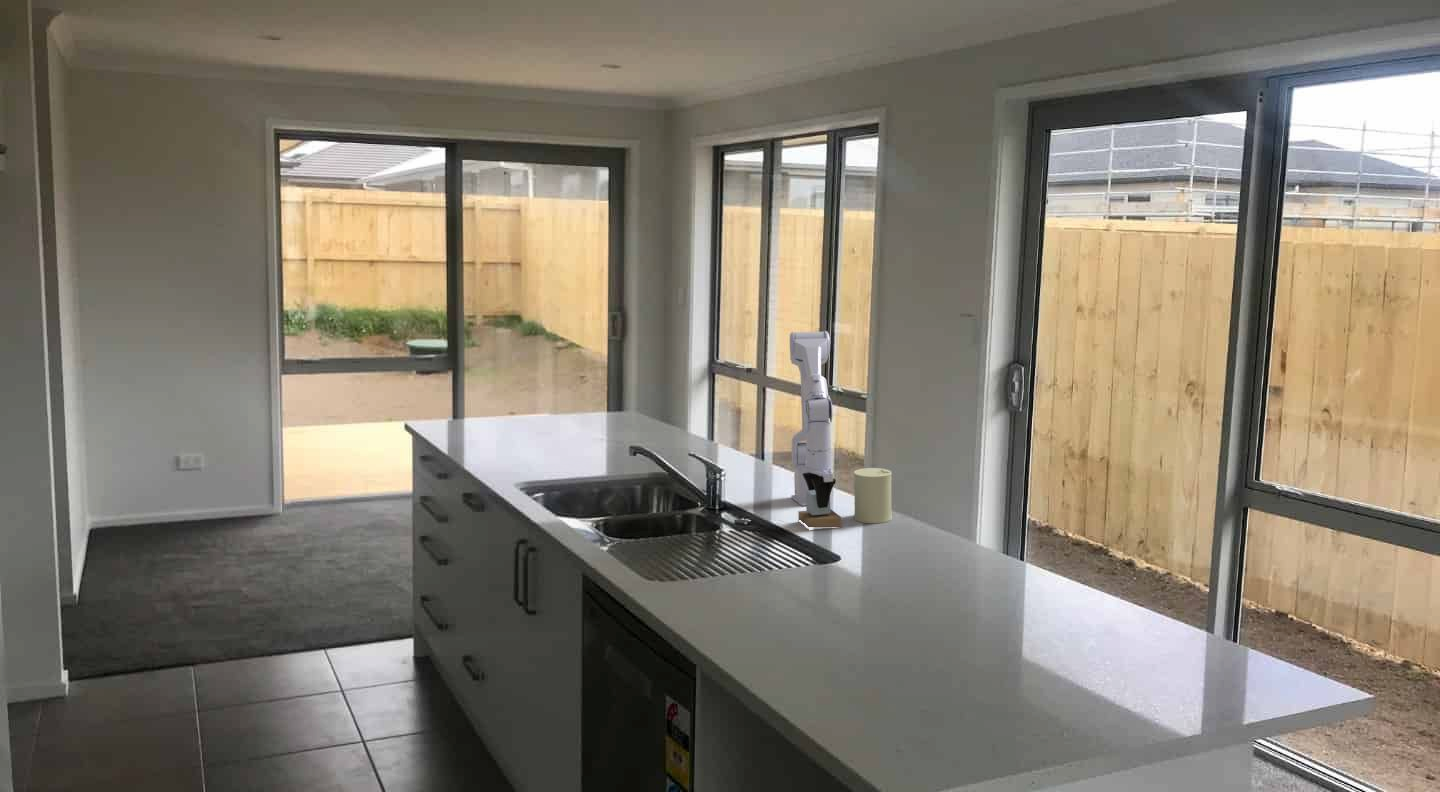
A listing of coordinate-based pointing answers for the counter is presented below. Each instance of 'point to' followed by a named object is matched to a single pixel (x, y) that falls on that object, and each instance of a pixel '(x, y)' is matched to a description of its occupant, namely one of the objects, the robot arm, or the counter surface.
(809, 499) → the block
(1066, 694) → the counter surface
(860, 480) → the can
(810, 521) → the slab
